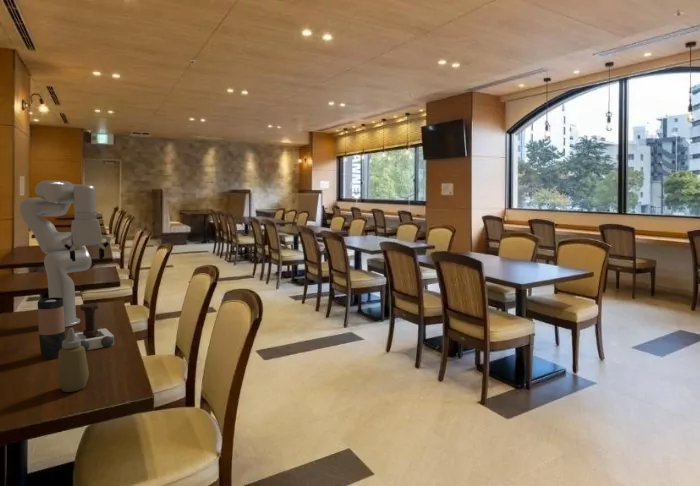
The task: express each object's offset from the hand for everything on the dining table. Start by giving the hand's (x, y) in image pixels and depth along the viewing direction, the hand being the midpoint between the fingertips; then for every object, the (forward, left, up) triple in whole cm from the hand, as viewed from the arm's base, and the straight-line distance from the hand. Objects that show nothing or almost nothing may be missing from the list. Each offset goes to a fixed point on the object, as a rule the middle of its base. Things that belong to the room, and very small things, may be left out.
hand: (87, 260), depth 184 cm
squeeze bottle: (+54, -15, -31) cm, 64 cm away
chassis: (+13, -2, -30) cm, 33 cm away
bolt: (+13, -2, -31) cm, 33 cm away
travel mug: (+19, -15, -31) cm, 39 cm away
